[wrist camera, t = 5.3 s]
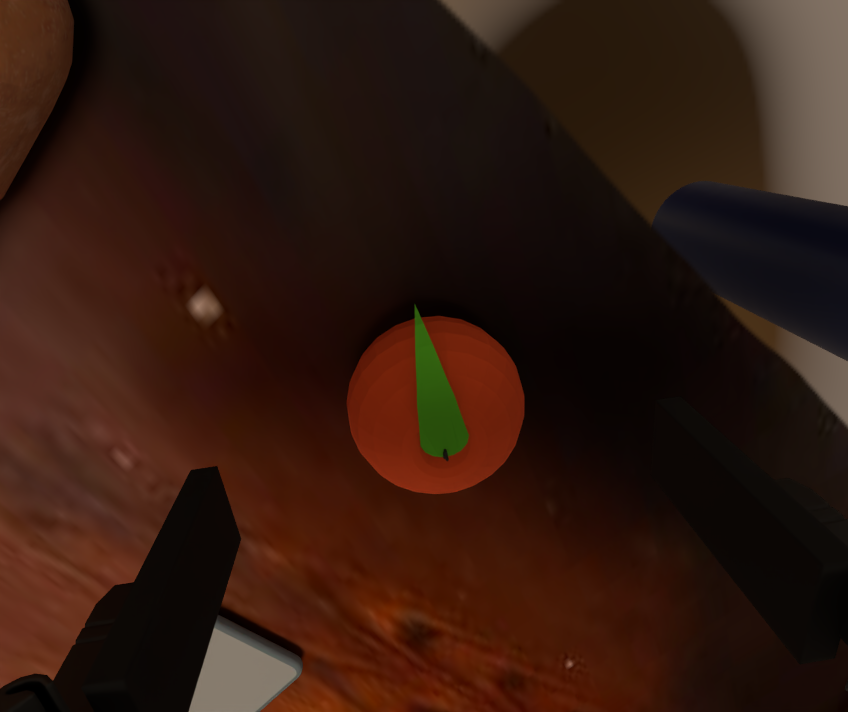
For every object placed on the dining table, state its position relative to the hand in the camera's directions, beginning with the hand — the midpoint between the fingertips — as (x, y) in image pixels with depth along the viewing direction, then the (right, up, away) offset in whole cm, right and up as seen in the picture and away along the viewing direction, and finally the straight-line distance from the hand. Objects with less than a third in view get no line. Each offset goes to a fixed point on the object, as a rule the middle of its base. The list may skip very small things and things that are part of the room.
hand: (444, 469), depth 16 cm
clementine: (-1, +3, +8) cm, 9 cm away
